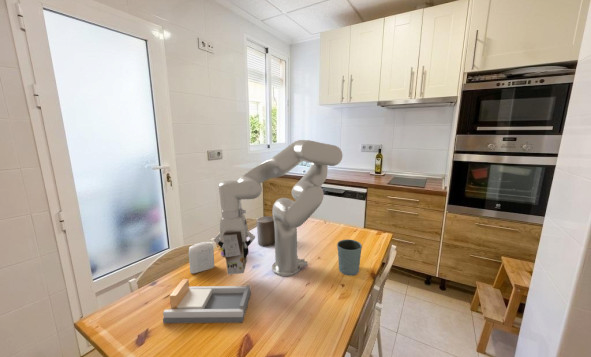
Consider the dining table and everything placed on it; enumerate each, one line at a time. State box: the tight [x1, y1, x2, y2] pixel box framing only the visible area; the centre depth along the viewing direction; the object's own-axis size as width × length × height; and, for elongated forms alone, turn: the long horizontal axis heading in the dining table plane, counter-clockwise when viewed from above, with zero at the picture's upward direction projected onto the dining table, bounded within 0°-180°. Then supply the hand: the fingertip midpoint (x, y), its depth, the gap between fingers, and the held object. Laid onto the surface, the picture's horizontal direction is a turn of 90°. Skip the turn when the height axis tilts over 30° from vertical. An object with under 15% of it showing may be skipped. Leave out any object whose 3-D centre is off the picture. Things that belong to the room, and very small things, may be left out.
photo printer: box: [188, 241, 215, 275], centre depth 105 cm, size 10×4×12 cm, turn 123°
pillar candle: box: [256, 216, 275, 248], centre depth 130 cm, size 10×10×15 cm
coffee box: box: [223, 232, 248, 275], centre depth 94 cm, size 9×6×16 cm
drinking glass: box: [336, 239, 363, 277], centre depth 102 cm, size 10×10×12 cm
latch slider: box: [169, 278, 212, 309], centre depth 81 cm, size 10×9×6 cm
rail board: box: [162, 284, 252, 324], centre depth 81 cm, size 25×14×4 cm, turn 90°
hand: (236, 256), depth 94 cm, fingers closed on coffee box, 6 cm apart
